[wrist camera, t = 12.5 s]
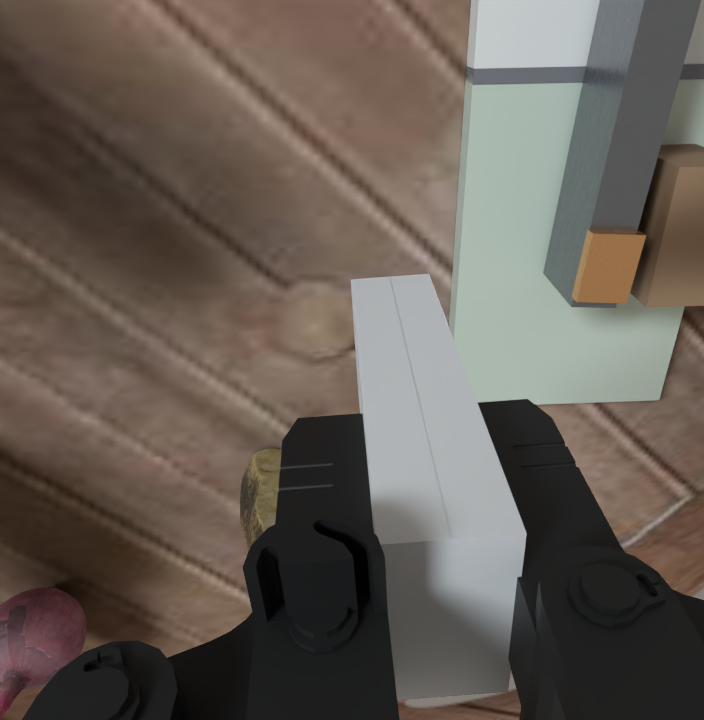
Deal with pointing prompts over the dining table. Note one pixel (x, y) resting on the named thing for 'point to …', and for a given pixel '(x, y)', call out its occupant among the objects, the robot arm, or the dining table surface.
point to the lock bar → (616, 147)
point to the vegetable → (37, 639)
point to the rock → (260, 493)
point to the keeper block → (673, 231)
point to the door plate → (544, 216)
